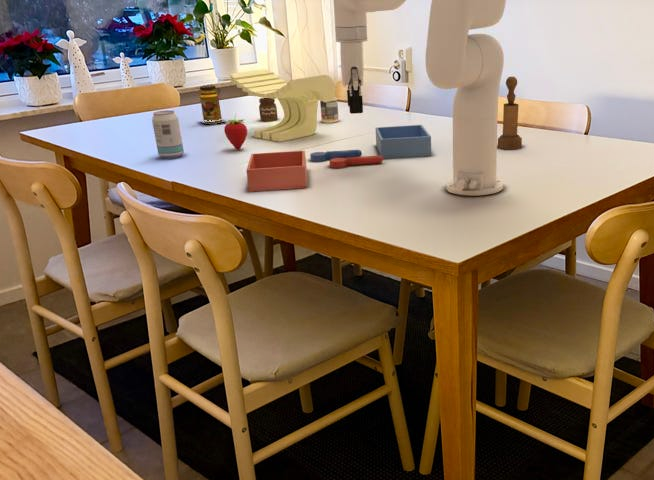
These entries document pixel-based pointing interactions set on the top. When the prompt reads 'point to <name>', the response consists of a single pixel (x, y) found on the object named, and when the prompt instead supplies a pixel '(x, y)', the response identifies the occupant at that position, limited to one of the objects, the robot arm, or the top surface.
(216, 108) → the condiment
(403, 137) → the bin blue
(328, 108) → the pill bottle
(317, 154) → the spoon blue
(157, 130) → the beverage can
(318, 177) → the top surface
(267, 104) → the dark brown jar
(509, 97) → the brown tall knobbed column
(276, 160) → the bin terracotta
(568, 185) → the top surface
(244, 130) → the strawberry
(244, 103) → the top surface
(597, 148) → the top surface
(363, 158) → the spoon terracotta
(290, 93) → the slatted curved stool
